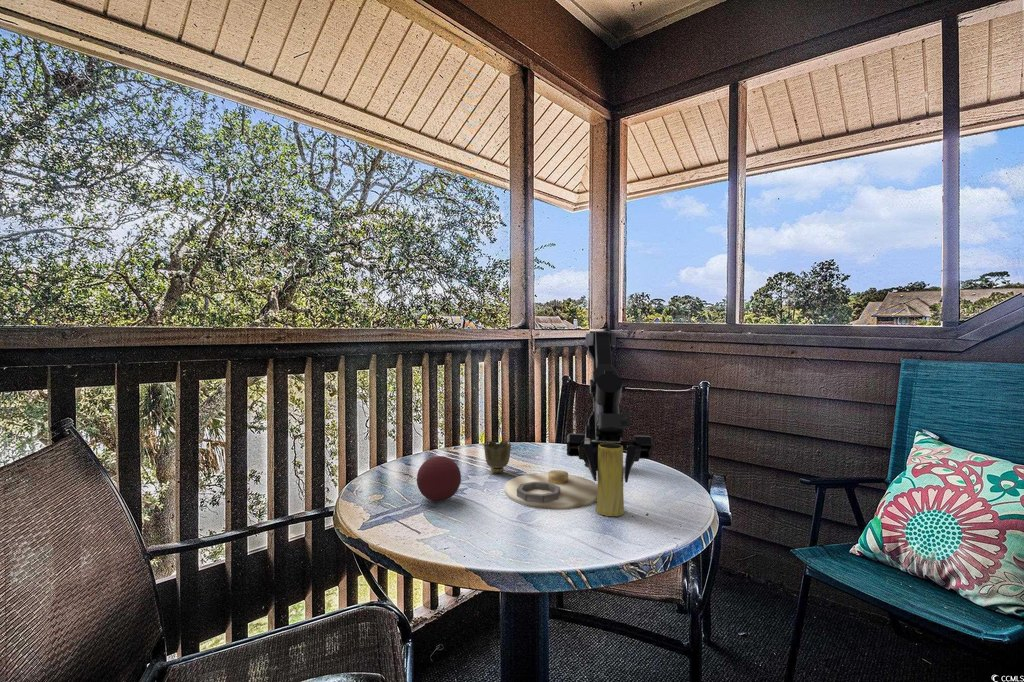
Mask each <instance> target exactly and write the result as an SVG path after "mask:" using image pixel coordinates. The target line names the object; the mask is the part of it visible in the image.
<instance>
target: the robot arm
mask: <svg viewBox="0 0 1024 682" xmlns="http://www.w3.org/2000/svg"><path fill="white" fill-rule="evenodd" d="M585 347H586V348H587V354H588V356H589V358H591V361H592V377H591V378H592V379H589V394H590V395H592V402H593V403H592V405H593V410H592V412H591V414H590V416H589V417H588V420H587V425H586V424H585V433H573V432H571V433H568V434H567V435H566V456H568V457H578V459H579V460H581V461H583V462H584V466H585V467H587V468H588V470H589V473H590V475H591V476H592V480H593V482H597V480H598V476H597V471H598V445H599V444H601V443H616V444H620V445H622V446H623V452H624V451H626V454H625V460H624V461H625V462H624V482H625V483H628V481H629V477H630V474H631V473H630V472H631V469H632V468H633V465H634V463H635V462H639V461H640V459H641V460H649V459H651V458H652V455H653V451H654V447H655V445H654V444H655V443H654V438H652V436H650V435H641V434H640V435H638V434H636V435H635V434H634V435H633V439H632V441H626V440H625V441H623V440H622V438H623V437H624V431H623V430H624V429H625V428H626V429H629V428H631V426H632V421H631V412H630V411H621V413H620V407H619V405H620V403H621V400H622V398H621V397H622V395H623V394H624V392H625V391H626V385H624V382H623V380H622V378H621V377H620V376H619V372H618V370H617V369H615V368H614V367H613V360H612V352H613V348H615V347H616V333H613V332H611V330H606V331H605V330H590V331H589V332H588V333H586V334H585Z"/></svg>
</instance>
